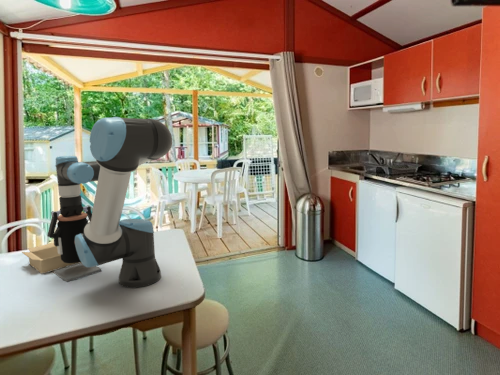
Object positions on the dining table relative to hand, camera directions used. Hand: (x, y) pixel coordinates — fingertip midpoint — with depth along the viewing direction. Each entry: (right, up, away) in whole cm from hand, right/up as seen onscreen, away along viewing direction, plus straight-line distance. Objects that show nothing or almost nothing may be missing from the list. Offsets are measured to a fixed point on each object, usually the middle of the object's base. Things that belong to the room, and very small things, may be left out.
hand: (75, 249), depth 128 cm
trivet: (0, -9, +1) cm, 9 cm away
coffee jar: (0, -4, +1) cm, 4 cm away
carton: (-13, -8, +13) cm, 20 cm away
